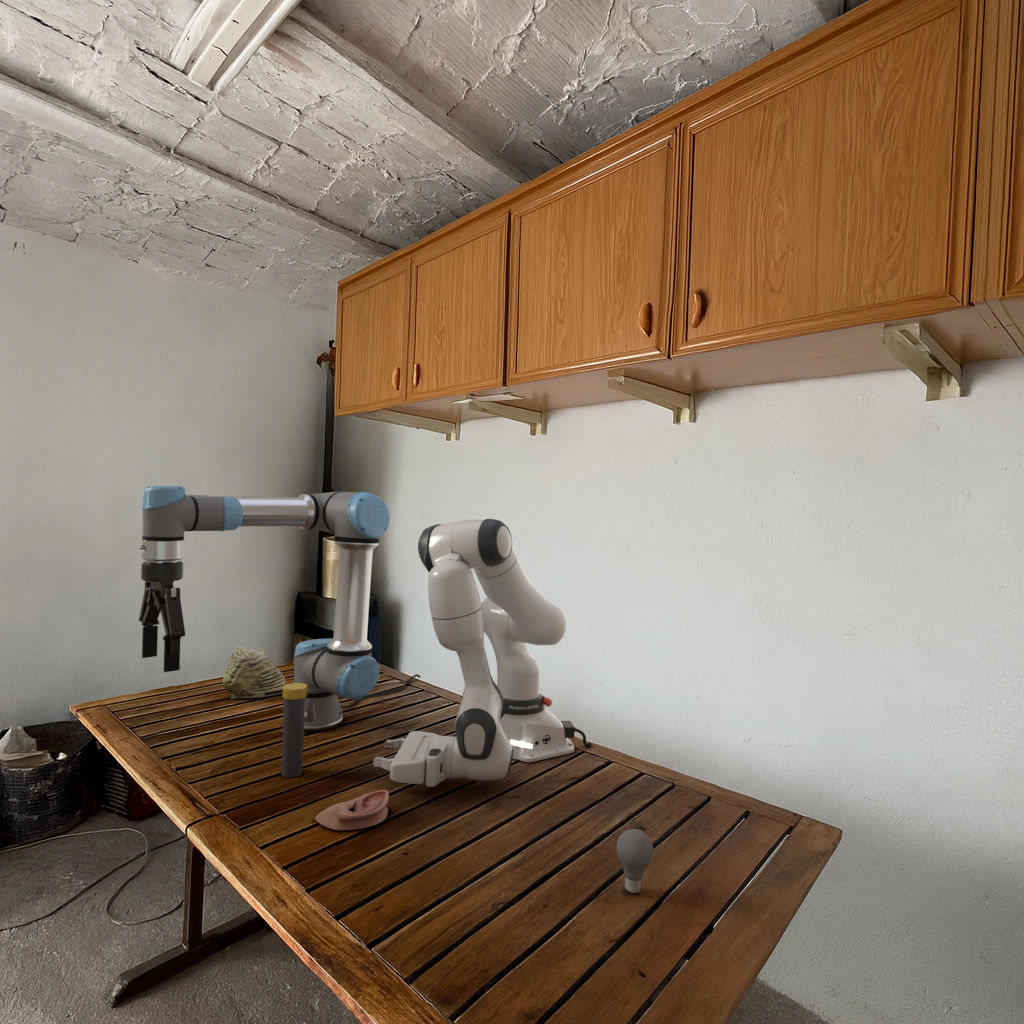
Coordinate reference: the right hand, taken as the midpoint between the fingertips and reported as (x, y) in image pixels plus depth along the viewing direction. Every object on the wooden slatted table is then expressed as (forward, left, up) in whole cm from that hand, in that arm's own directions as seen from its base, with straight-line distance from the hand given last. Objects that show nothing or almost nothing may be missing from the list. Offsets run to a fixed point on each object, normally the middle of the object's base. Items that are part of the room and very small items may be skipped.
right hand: (379, 752), depth 143 cm
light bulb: (-33, +53, -6) cm, 63 cm away
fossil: (+27, -70, -6) cm, 75 cm away
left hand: (+45, -5, +21) cm, 50 cm away
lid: (+18, -9, +14) cm, 24 cm away
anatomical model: (+8, +15, -6) cm, 18 cm away
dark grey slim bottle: (+18, -9, -6) cm, 21 cm away
